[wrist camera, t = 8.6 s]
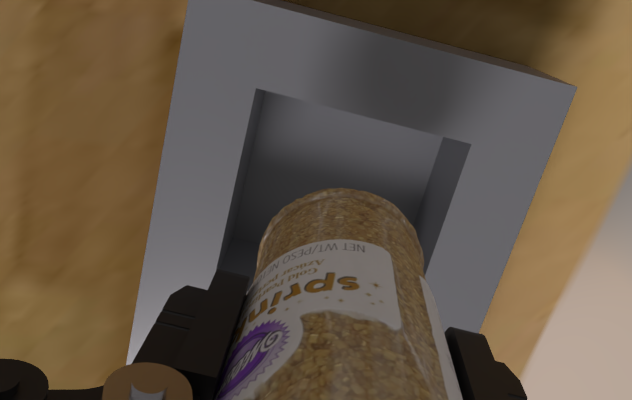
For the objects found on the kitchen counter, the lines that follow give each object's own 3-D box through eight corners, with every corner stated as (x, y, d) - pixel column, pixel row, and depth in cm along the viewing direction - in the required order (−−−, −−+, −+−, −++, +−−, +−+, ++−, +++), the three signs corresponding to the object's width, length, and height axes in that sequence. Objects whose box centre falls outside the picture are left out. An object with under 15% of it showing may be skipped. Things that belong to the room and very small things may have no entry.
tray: (136, 441, 30) (67, 596, 22) (222, -16, 22) (162, -17, 15) (370, 494, 30) (379, 663, 23) (528, 66, 23) (621, 105, 15)
